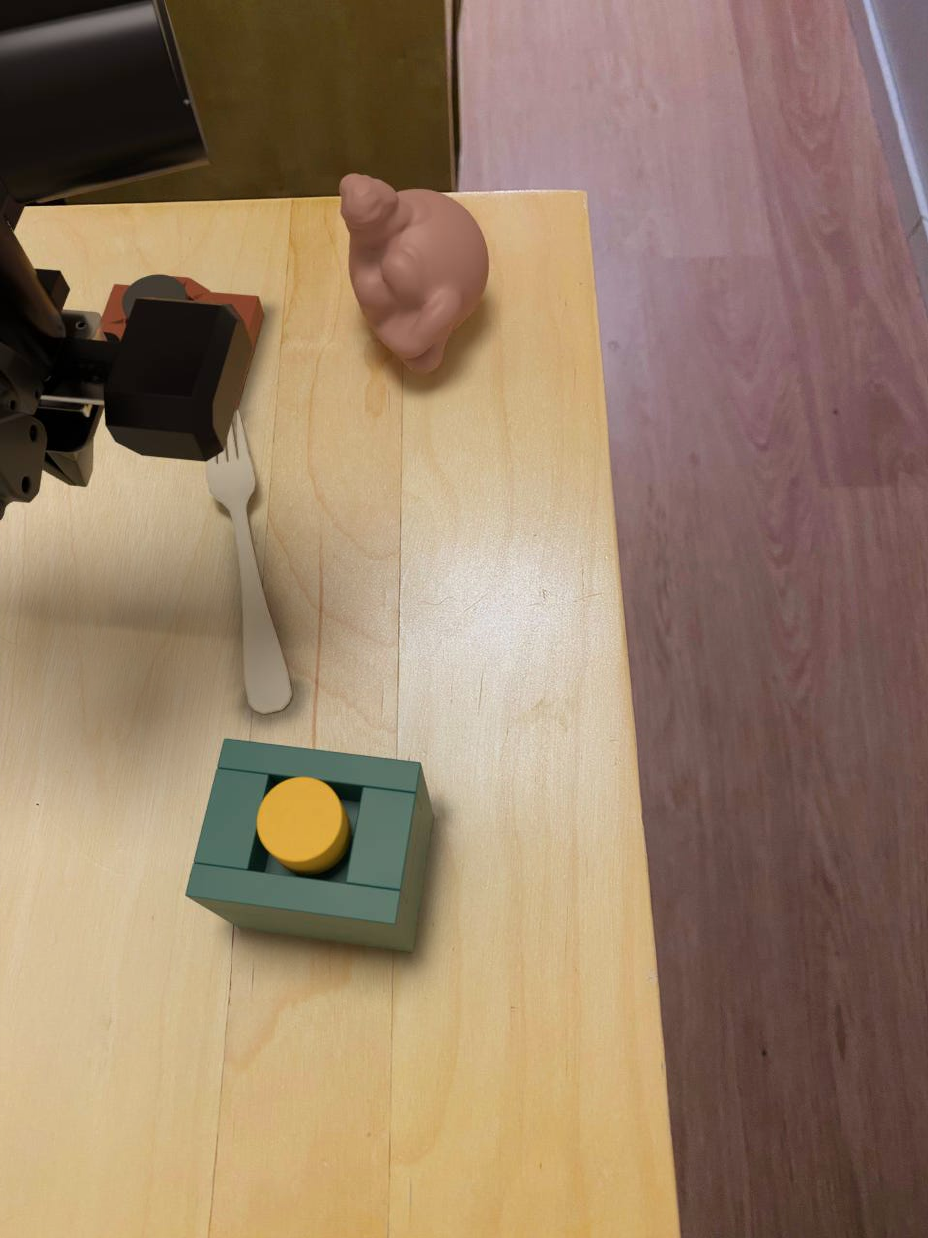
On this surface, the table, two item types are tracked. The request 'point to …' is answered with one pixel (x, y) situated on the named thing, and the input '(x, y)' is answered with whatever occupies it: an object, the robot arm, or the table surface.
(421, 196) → the figurine
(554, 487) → the table surface
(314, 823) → the cylinder
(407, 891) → the green push button box
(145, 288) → the far button
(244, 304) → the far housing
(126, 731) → the table surface
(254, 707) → the fork
